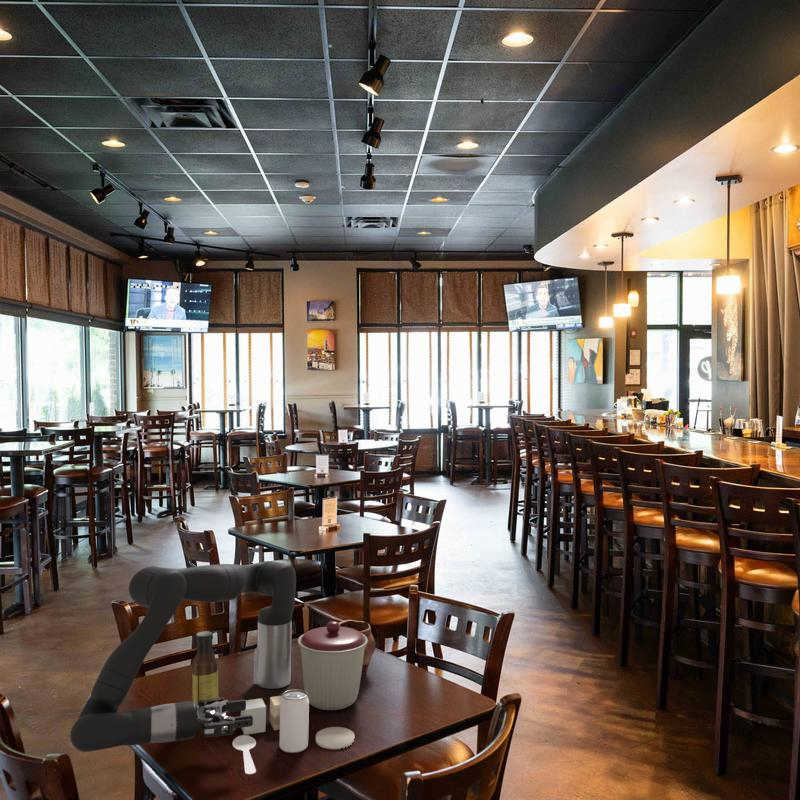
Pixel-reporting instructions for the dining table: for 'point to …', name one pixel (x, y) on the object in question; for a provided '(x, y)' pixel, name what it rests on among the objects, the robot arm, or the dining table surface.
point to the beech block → (275, 712)
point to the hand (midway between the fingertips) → (249, 712)
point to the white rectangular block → (255, 716)
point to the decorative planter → (366, 630)
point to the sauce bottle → (204, 669)
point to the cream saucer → (335, 738)
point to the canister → (332, 665)
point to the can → (294, 721)
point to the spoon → (246, 751)
